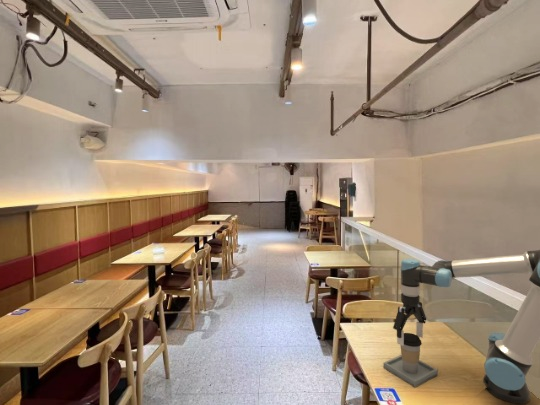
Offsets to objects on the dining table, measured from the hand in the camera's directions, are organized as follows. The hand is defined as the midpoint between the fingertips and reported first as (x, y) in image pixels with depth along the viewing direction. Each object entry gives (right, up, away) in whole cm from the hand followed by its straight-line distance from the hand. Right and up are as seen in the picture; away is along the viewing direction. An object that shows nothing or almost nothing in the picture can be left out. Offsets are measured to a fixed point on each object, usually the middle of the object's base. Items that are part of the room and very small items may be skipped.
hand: (410, 340), depth 134 cm
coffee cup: (0, -14, +1) cm, 14 cm away
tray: (0, -14, +1) cm, 14 cm away
